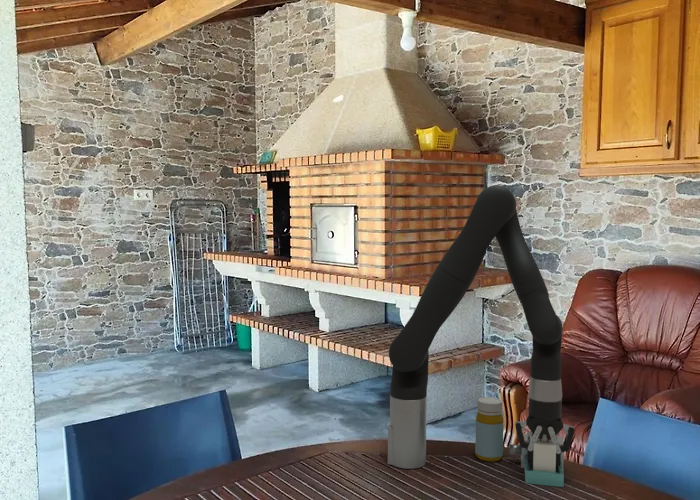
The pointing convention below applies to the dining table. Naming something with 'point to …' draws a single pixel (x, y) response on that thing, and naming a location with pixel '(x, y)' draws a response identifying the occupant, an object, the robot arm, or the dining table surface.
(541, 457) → the white cube with peg
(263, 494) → the dining table surface
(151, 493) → the dining table surface
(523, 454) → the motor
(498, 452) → the bottle
